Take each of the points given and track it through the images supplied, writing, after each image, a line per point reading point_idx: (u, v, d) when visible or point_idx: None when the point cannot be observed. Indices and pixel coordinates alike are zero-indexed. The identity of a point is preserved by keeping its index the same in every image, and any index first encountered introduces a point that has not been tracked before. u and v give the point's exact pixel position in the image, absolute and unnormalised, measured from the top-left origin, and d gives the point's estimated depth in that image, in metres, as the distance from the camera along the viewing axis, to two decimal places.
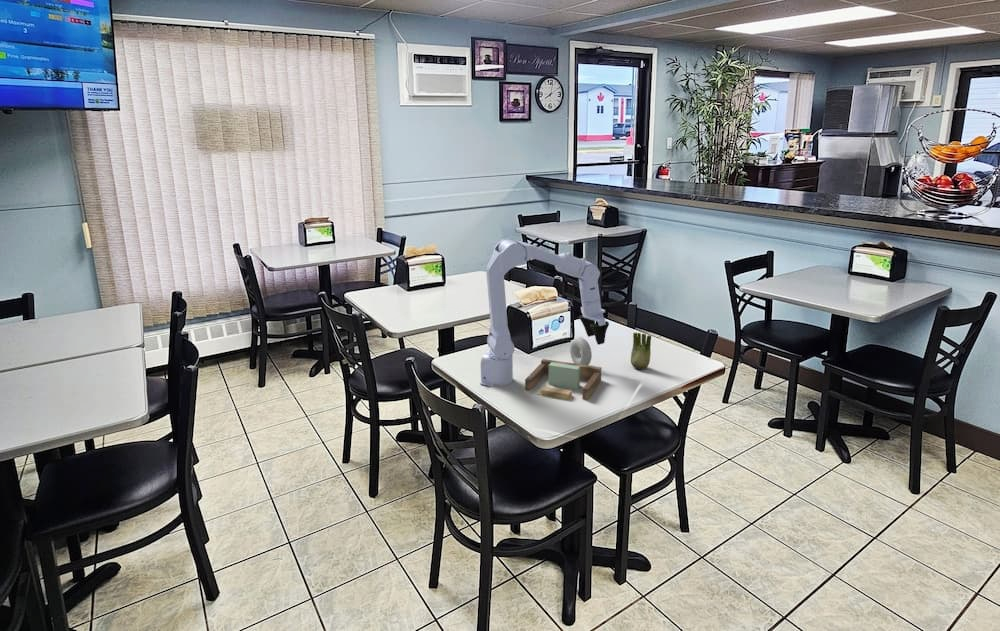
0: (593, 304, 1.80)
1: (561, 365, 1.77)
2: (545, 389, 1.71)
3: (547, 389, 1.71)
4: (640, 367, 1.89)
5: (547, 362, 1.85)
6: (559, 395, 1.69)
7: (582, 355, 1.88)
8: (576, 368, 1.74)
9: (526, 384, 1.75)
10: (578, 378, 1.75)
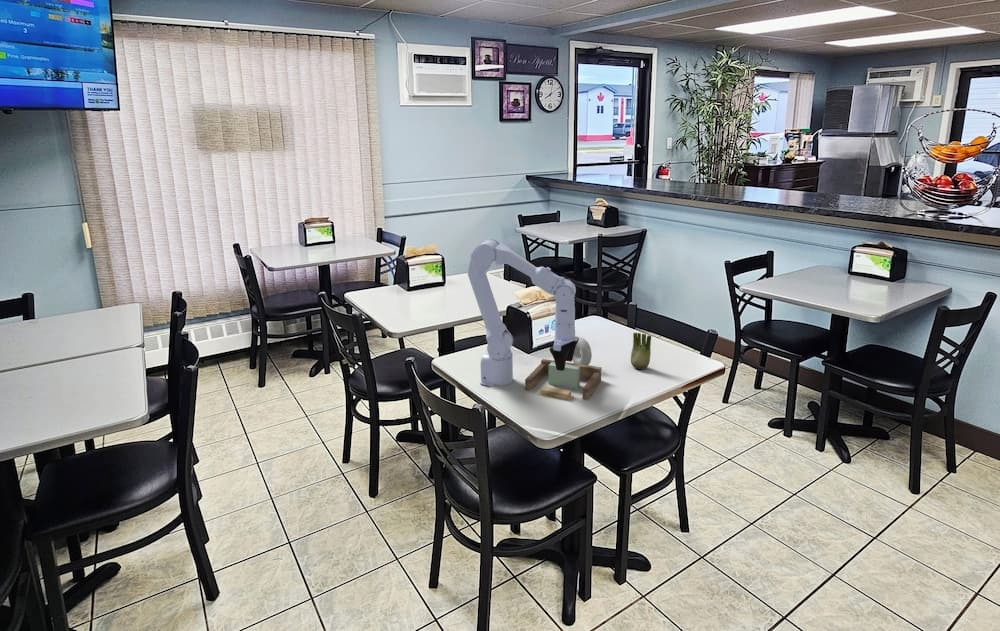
0: (560, 327, 1.70)
1: None
2: (545, 389, 1.72)
3: (547, 389, 1.71)
4: (640, 367, 1.89)
5: (547, 362, 1.85)
6: (558, 395, 1.69)
7: (582, 355, 1.88)
8: (576, 368, 1.74)
9: (526, 384, 1.75)
10: (578, 378, 1.75)
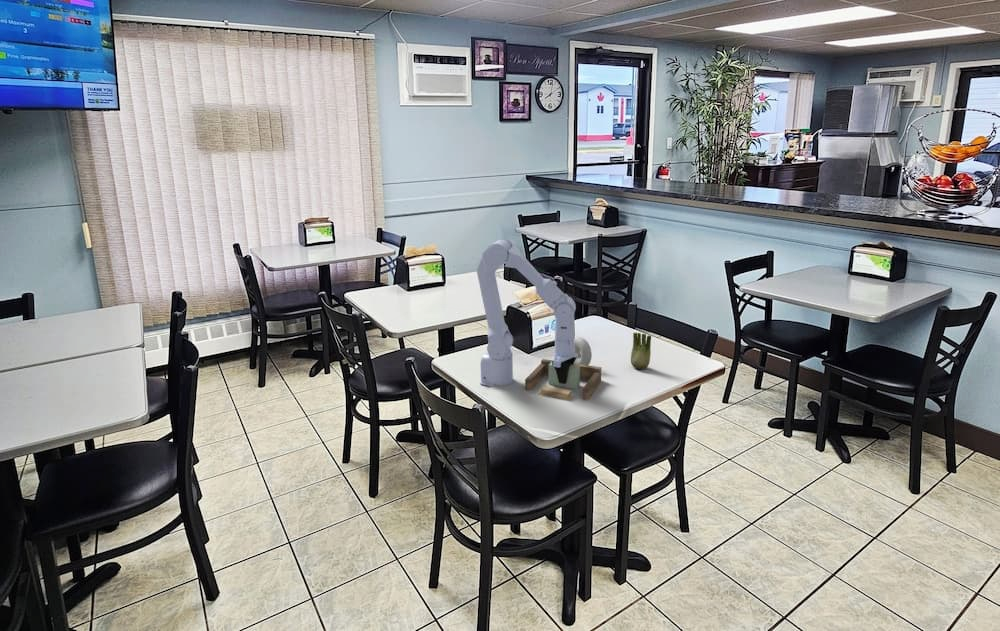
0: (560, 343, 1.72)
1: None
2: (545, 388, 1.72)
3: (547, 389, 1.71)
4: (640, 367, 1.89)
5: (547, 362, 1.85)
6: (559, 395, 1.69)
7: (582, 355, 1.88)
8: (576, 368, 1.74)
9: (526, 384, 1.75)
10: (578, 378, 1.75)
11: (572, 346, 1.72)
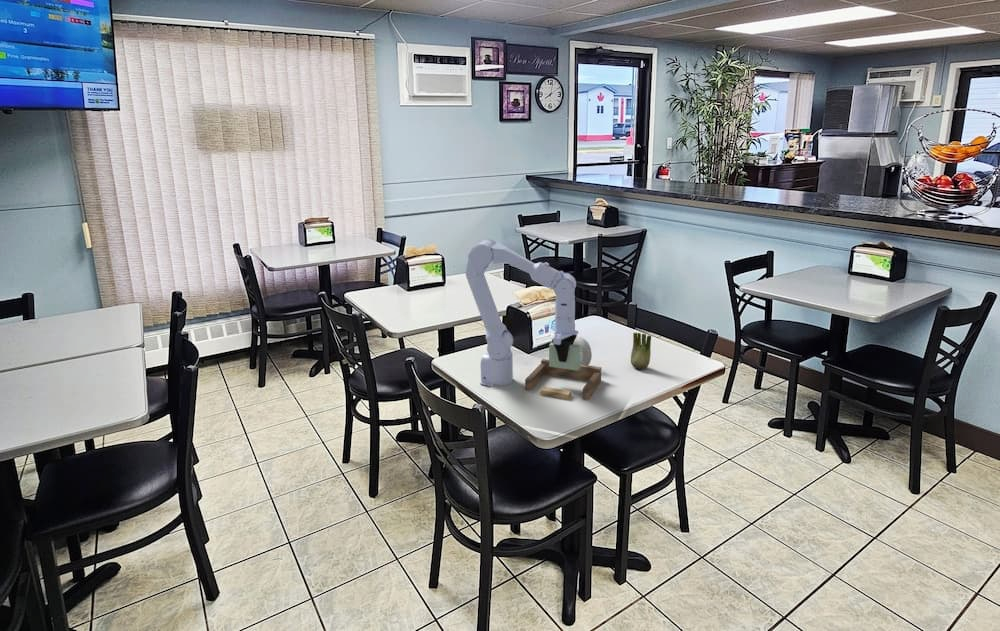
0: (560, 321, 1.69)
1: None
2: (544, 389, 1.72)
3: (547, 389, 1.71)
4: (640, 367, 1.89)
5: (547, 362, 1.85)
6: (559, 395, 1.69)
7: (582, 355, 1.88)
8: (577, 347, 1.72)
9: (526, 384, 1.75)
10: (579, 357, 1.73)
11: (572, 323, 1.70)
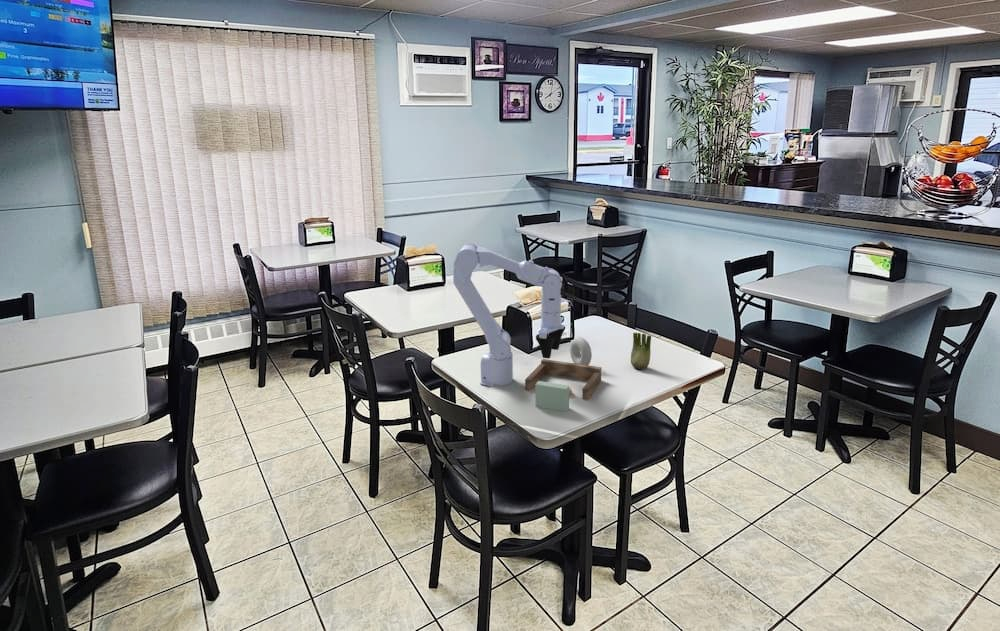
0: (546, 315, 1.73)
1: (549, 384, 1.62)
2: None
3: None
4: (640, 367, 1.89)
5: (547, 362, 1.85)
6: None
7: (582, 355, 1.88)
8: (565, 388, 1.60)
9: (526, 384, 1.75)
10: (567, 398, 1.61)
11: (558, 318, 1.74)
